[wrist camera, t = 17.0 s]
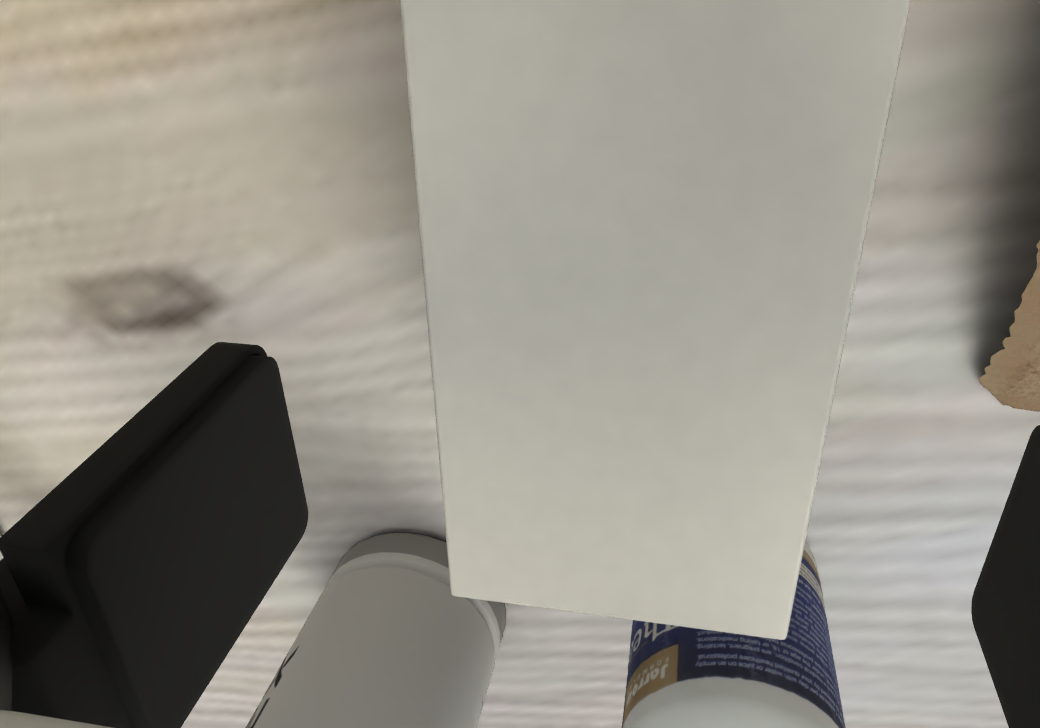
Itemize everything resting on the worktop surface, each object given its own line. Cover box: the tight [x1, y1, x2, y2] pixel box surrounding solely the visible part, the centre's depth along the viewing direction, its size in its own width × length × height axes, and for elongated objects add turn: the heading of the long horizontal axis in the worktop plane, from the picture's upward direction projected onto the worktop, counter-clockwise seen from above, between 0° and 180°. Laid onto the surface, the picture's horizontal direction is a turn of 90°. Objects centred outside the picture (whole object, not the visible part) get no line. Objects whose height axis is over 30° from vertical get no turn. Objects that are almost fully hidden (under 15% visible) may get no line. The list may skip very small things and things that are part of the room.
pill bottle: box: [622, 544, 845, 728], centre depth 21 cm, size 5×5×10 cm
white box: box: [400, 0, 911, 640], centre depth 15 cm, size 12×7×2 cm, turn 1°
